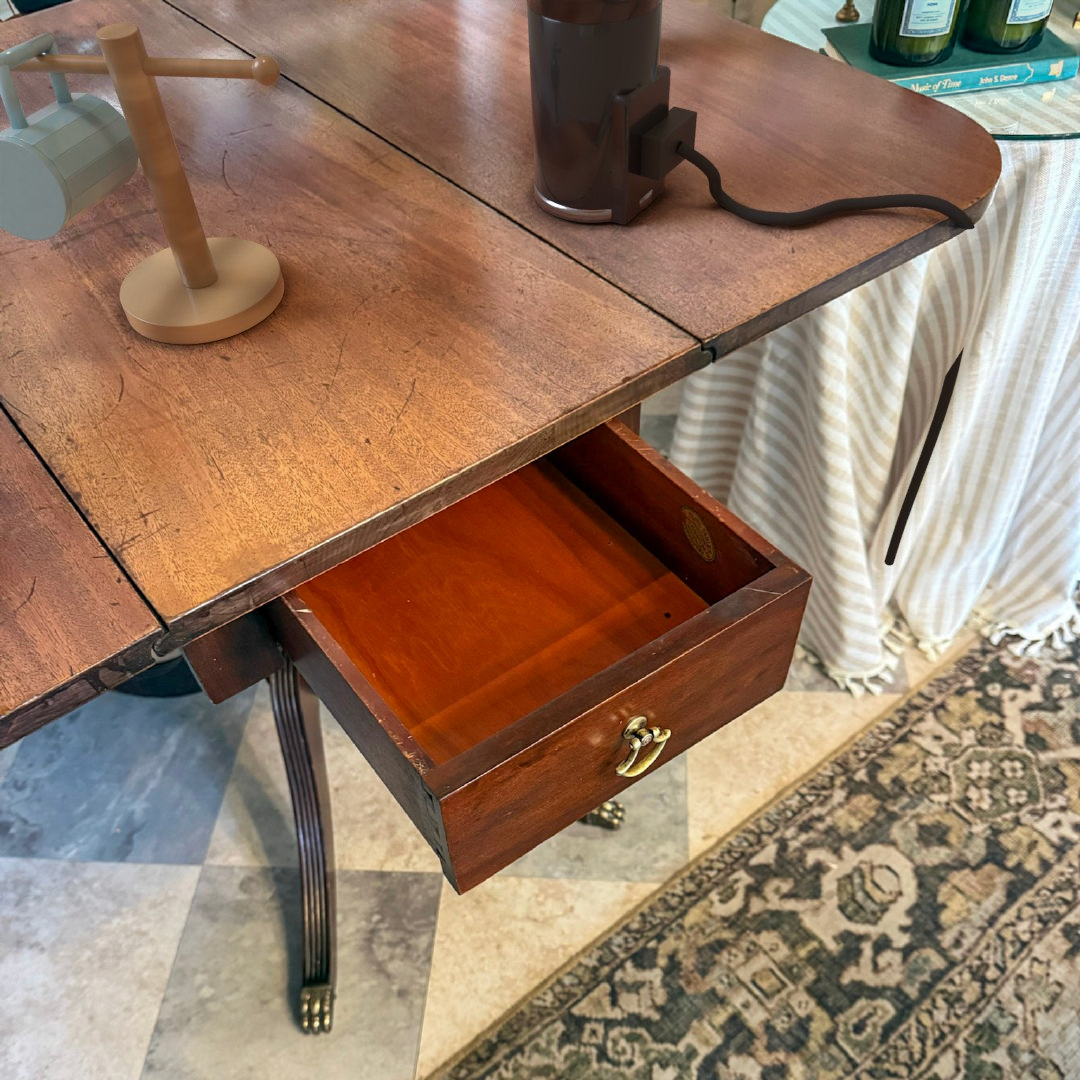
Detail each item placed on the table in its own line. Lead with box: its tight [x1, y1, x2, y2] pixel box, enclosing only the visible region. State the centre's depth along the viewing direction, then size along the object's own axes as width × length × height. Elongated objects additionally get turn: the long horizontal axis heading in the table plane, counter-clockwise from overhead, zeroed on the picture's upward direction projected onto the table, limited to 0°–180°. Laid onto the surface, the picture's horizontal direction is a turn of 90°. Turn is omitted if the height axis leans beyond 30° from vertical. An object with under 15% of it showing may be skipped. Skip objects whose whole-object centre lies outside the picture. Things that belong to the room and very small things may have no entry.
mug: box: [0, 32, 140, 242], centre depth 61 cm, size 10×6×9 cm
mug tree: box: [0, 22, 285, 345], centre depth 64 cm, size 19×11×18 cm, turn 81°
